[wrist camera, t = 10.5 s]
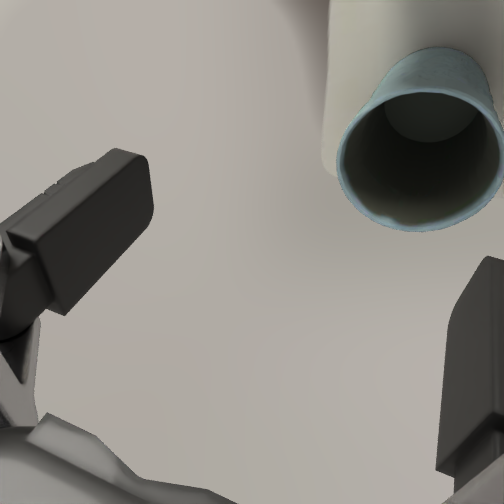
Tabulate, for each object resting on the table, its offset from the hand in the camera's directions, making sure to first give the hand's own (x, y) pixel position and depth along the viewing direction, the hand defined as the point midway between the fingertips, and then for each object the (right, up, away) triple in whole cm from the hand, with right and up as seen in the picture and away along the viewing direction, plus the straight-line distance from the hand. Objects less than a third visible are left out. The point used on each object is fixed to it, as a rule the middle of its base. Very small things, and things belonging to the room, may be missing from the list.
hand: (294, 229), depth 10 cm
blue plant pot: (+14, +12, +25) cm, 31 cm away
